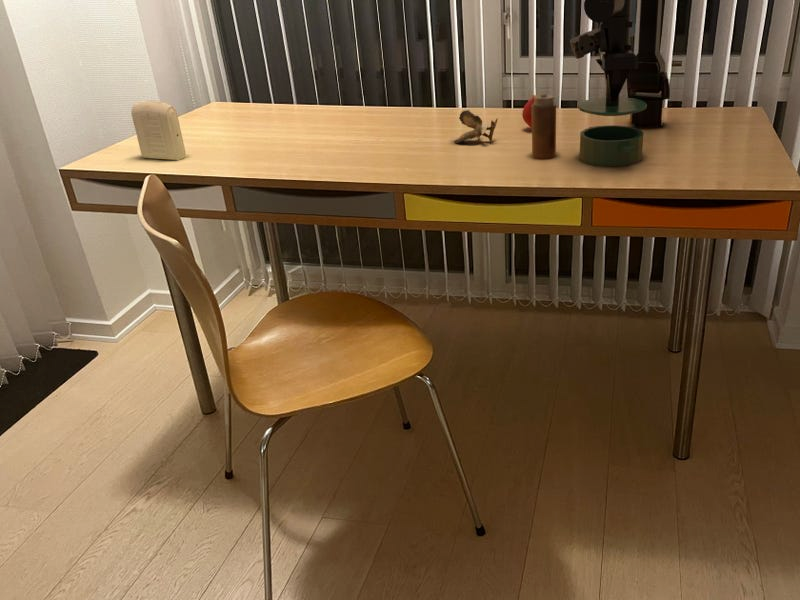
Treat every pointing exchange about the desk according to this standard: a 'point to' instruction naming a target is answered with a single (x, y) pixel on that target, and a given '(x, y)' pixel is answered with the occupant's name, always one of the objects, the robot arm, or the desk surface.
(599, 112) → the lid
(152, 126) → the photo printer
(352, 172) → the desk surface
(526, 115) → the onion
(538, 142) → the pepper mill
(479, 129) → the eagle figurine
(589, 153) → the pot
